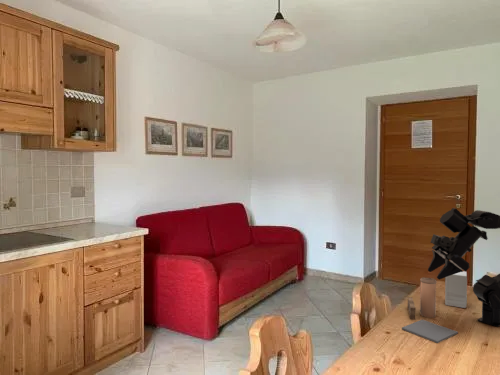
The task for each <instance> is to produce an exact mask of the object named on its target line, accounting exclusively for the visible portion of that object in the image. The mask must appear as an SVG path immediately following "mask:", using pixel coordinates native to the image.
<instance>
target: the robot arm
mask: <svg viewBox="0 0 500 375" xmlns="http://www.w3.org/2000/svg"><path fill="white" fill-rule="evenodd" d="M439 223H440V224H442V226H444V227H446V228H447V229H448V231H451V232H452V233H453V234H455V233H457V234H456V235H455V236H451V237H449V236H445V235H442V236H440V235H437V234H434V233H433V235H432V237H431V239H430V241H429V242H430V244H433V246H432V247H431V249H432V250H431V251H432V255H433V256H432V259H431V261H430V264H429V266H428V268H427V271H428V272H429V273H431V272H433V271H435V270H437V269H438V268H440V267H441V266H443V267H442V268H441V270H440V271H439V273H438V274H437V275H436V279H437V280H442V279H445V277H448V276H450V275H453V274H456V273H459V272H463V271H464V272H467V271H468V270H469V269H470V262H468V261H467V260H465V259H464V258H463V257H464V255H465V254H466V253H467V252H468V253H470V252H472V247H473V246H474V245H475V244H476V242H477V241H479V239H483V240H486V241H487V240H488V239H489V238H488V235H487V233H488V232H487V231H485V230H496V229H497V230H498V229H500V215H499V214H496V213H494V212H491V211H485V210H479V209H477V210H474V211H472V213H470V214H466V215H464V214H463V213H461V212H460V211H459V209H458V208H456V207H452V208H451V209H450V210H448V211H446V212H445V213H443V214H442V215H441V216H440V219H439ZM470 224H471V225H470ZM479 228H481V229H485V230H481V229H479ZM472 292H473V294H474V295H475V296H476V297H477V300H478V301H480V302H481V317H480V318H477V320H476V321H477V322H480V323H483V324H485V325H486V324H487V325H490V326H493V327H497V328H499V327H500V273H498V274H497V275H495V276H490V275H489V274H484V275H482V277H481V278H479V279H476V280H475V283H474V284H473V287H472Z"/></svg>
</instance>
